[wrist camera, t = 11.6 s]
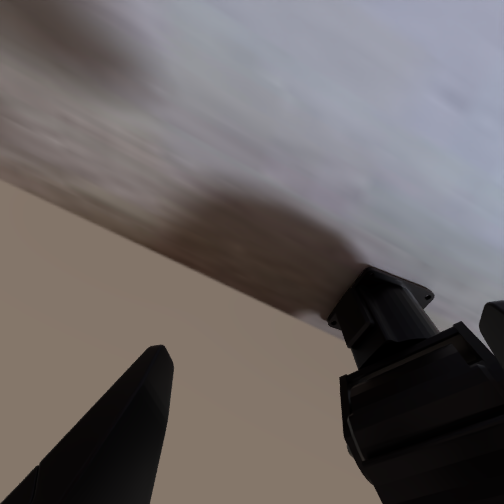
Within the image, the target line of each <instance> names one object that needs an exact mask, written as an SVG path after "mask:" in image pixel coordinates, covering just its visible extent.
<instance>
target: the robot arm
mask: <svg viewBox="0 0 504 504" xmlns="http://www.w3.org/2000/svg"><path fill="white" fill-rule="evenodd" d="M369 273H372V274H371V275H368V274H369ZM427 295H428V296H427ZM425 296H426V297H425ZM433 299H434V294H433V293H432V291H430V290H429V289H426V288H423V287H421V286H418V285H416V284H413V283H411V282H408V281H405V280H403V279H400V278H398V277H395V276H393V275H390V274H388V273H385V272H382V271H380V270H377V269H375V268H372V267H369V268H366V269H365V270H364V271H363V272H362V274H361V275H360V276H359V278H358V279H357V280H356V282H355V283H354V284H353V286H352V287H351V288H349V290H348V291H347V292H346V294H345V295H344V296H343V298H342V299H341V300H340V302H339V303H338V304H337V306H336V307H335V308H334V311H333V312H332V313H331V315H330V316H329V317H328V319H327V322H328V325H329V326H330V327H333V328H336V329H339V330H342V333H343V336H344V339H345V342H346V345H347V347H348V348H350V349H351V351H352V353H353V356H354V359H355V362H356V365H357V367H358V371H356V372H353V373H351V374H349V375H347V374H346V375H343V376H341V377H339V378H340V396H341V408H342V420H343V433H344V438H345V441H346V443H347V449H348V452H349V454H350V455H351V456H352V457H353V458H354V459H355V461H356V463H357V465H358V467H359V469H360V470H361V472H362V473H363V475H364V476H365V478H366V479H367V480H368V481H369V482H370V483H371V484H372V485H374V487H375V489H376V491H377V493H378V495H379V497H380V499H381V501H382V503H383V504H504V300H501V301H493V302H488V303H486V304H485V306H484V309H483V312H482V316H481V319H480V322H479V329H480V332H481V334H482V336H483V337H484V339H485V341H486V342H487V344H488V346H489V347H490V349H491V351H492V352H493V354H494V355H493V354H492V353H491V352H490V351H489V350H488V348H487V347H486V346H485V345H484V344H483V343H482V342H481V341H480V340H479V339H478V338H477V337H476V336H475V335H474V334H473V333H472V332H471V331H470V330H469V329H468V328H467V326H466V325H465V324H464V323H463V322H462V321H460V322H458V323H456V324H454V325H453V327H451V328H449V329H447V330H445V331H442V332H439V330H438V329H437V328H436V326H435V325H434V323H433V322H432V321H431V319H430V318H429V317H428V315H427V314H426V313H425V311H424V310H423V309H424V308H425V307H426V306H427V305H428V304H429V303H430V302H431V301H432V300H433ZM332 321H334V322H332ZM173 372H174V366H173V361H172V359H171V357H170V355H169V353H168V351H167V349H166V348H165V346H163V345H155V346H150V347H149V348H147V349H146V350H145V352H144V353H143V354H142V355H141V356H140V357H139V358H138V359H137V360H136V361H135V362H134V363H133V364H132V365H131V367H130V368H129V369H128V370H127V371H126V372H125V373H124V374H123V375H122V376H121V377H120V378H119V379H118V380H117V381H116V382H115V383H114V385H113V386H112V387H111V388H110V389H109V390H108V391H107V392H106V393H105V394H104V395H103V396H102V397H101V398H100V399H99V400H98V401H97V402H96V403H95V405H94V406H93V407H92V408H91V409H90V410H89V411H88V412H87V413H86V414H85V415H84V416H83V417H82V418H81V419H80V420H79V421H78V423H77V424H76V425H75V426H74V427H73V428H72V429H71V430H70V431H69V432H68V433H67V434H66V435H65V436H64V438H63V439H61V441H60V442H59V443H58V444H57V445H56V446H55V447H54V448H53V449H52V450H51V451H50V452H49V453H48V454H47V455H46V457H45V458H44V459H43V460H42V461H41V462H40V464H39V465H38V466H36V467H35V468H34V469H33V470H32V471H31V472H30V473H29V474H28V475H27V477H25V479H24V480H23V481H22V482H21V483H20V484H19V485H18V486H17V487H16V488H15V489H14V490H13V491H12V492H11V493H10V494H9V495H8V496H7V497H6V498H5V499H4V500H3V501H2V502H1V503H0V504H150V500H151V495H152V491H153V486H154V482H155V477H156V473H157V468H158V464H159V459H160V455H161V450H162V446H163V441H164V436H165V431H166V427H167V422H168V415H169V406H170V398H171V389H172V380H173Z"/></svg>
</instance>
